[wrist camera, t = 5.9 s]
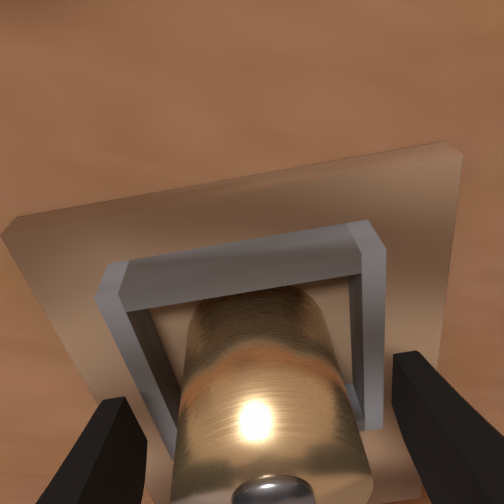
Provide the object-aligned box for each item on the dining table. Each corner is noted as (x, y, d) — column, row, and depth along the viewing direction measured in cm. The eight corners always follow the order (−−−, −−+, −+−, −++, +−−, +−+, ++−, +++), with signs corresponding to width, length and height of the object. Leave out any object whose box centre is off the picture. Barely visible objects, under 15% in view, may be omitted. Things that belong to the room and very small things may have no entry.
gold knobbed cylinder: (328, 370, 14) (376, 542, 10) (204, 389, 14) (195, 567, 10) (320, 268, 12) (378, 433, 7) (171, 292, 12) (141, 468, 8)
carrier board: (412, 476, 20) (434, 533, 18) (174, 511, 21) (169, 570, 19) (445, 141, 11) (496, 177, 9) (16, 217, 12) (-31, 268, 9)
